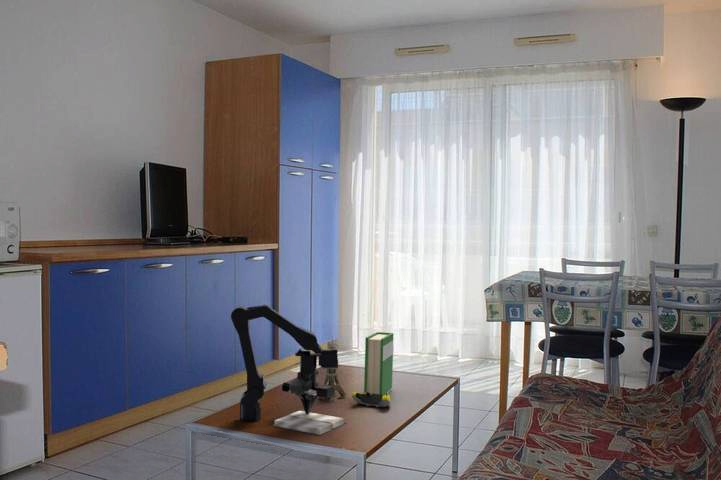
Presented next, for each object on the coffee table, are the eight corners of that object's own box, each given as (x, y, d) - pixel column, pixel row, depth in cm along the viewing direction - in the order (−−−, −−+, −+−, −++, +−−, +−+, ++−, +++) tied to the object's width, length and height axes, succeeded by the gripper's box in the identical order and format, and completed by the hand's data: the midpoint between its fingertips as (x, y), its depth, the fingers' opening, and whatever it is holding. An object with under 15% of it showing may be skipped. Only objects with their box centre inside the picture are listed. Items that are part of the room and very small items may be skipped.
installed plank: (274, 425, 218) (274, 420, 218) (287, 420, 225) (287, 415, 225) (320, 434, 210) (320, 429, 210) (332, 429, 216) (332, 423, 216)
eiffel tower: (349, 397, 263) (350, 335, 263) (334, 402, 254) (336, 338, 254) (327, 393, 269) (328, 332, 269) (312, 398, 260) (314, 335, 260)
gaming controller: (386, 411, 243) (396, 405, 252) (387, 396, 243) (396, 391, 252) (349, 406, 249) (360, 401, 258) (350, 392, 249) (361, 387, 258)
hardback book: (381, 398, 262) (383, 338, 262) (363, 397, 264) (365, 337, 264) (391, 389, 279) (393, 333, 279) (375, 388, 281) (376, 332, 281)
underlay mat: (272, 427, 218) (272, 425, 218) (300, 416, 233) (300, 414, 233) (320, 437, 209) (320, 435, 209) (347, 424, 224) (347, 423, 224)
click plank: (288, 420, 225) (288, 414, 225) (299, 415, 231) (299, 410, 231) (333, 428, 217) (333, 423, 217) (343, 423, 223) (344, 418, 223)
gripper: (272, 369, 225) (271, 414, 225) (318, 375, 216) (317, 423, 216) (291, 364, 235) (290, 408, 235) (335, 370, 226) (335, 415, 226)
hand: (307, 413), depth 228 cm, fingers closed
